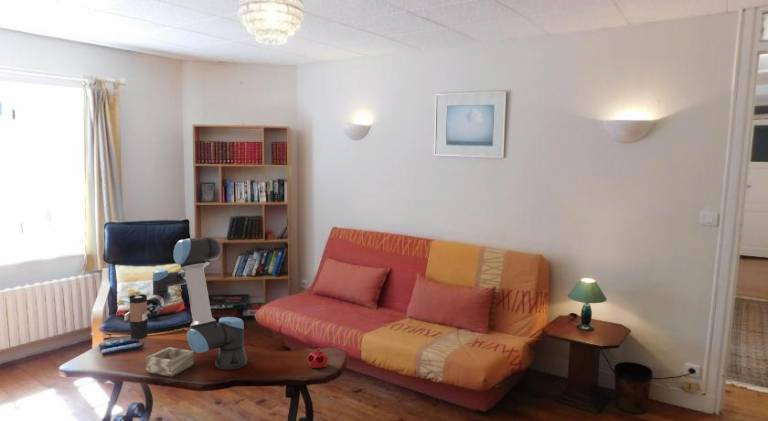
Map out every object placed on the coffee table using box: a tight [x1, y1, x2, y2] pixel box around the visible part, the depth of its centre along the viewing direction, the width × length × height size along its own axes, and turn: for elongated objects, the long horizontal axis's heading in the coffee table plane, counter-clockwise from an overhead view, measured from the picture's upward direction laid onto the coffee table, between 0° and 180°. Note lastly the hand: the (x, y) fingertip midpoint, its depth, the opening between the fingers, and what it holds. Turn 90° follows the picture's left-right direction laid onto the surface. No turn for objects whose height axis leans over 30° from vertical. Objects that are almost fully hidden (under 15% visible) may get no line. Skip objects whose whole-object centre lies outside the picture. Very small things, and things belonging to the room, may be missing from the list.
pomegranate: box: [307, 347, 329, 369], centre depth 251 cm, size 10×10×9 cm
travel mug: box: [129, 293, 148, 340], centre depth 242 cm, size 8×8×20 cm
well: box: [145, 346, 195, 377], centre depth 244 cm, size 15×15×7 cm
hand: (134, 317), depth 237 cm, fingers closed on travel mug, 7 cm apart
